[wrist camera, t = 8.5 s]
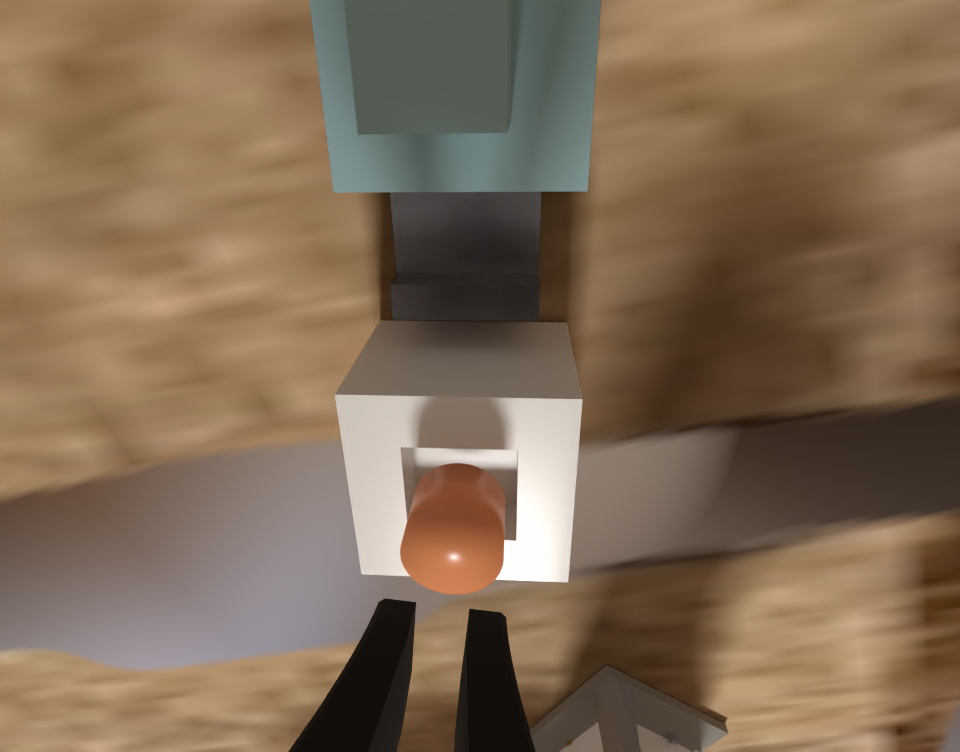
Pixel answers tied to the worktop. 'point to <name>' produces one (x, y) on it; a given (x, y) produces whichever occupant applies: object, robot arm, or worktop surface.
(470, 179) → the carriage
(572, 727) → the skyscraper
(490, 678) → the robot arm
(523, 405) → the white button housing
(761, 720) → the worktop surface
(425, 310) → the rail
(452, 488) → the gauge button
